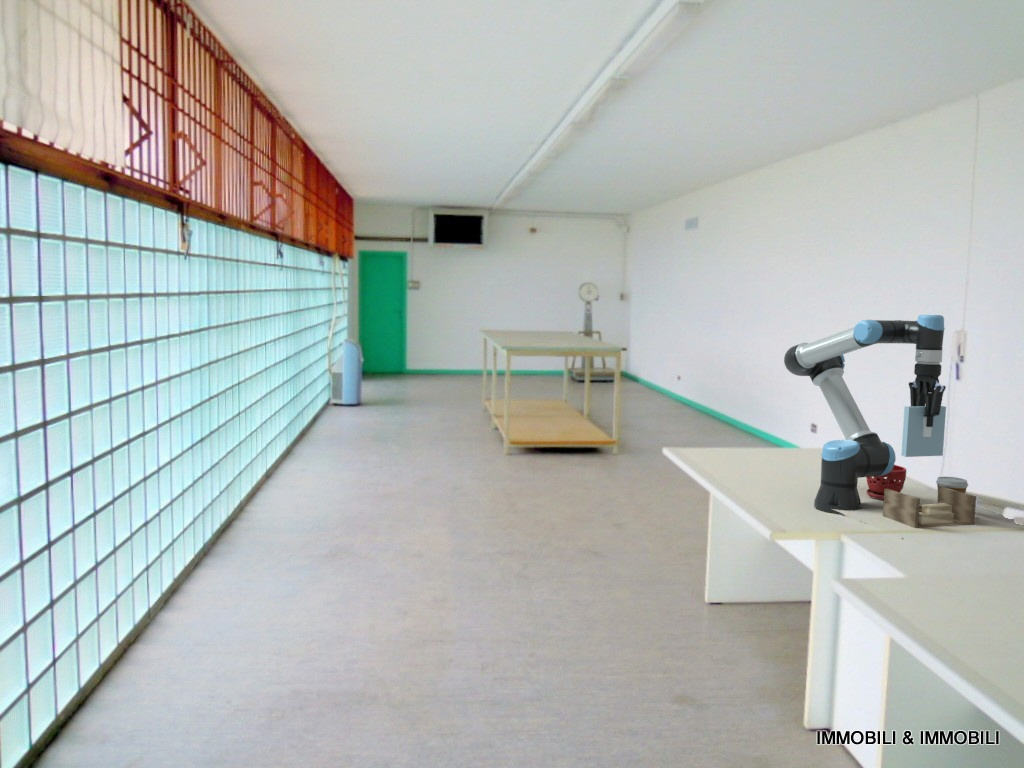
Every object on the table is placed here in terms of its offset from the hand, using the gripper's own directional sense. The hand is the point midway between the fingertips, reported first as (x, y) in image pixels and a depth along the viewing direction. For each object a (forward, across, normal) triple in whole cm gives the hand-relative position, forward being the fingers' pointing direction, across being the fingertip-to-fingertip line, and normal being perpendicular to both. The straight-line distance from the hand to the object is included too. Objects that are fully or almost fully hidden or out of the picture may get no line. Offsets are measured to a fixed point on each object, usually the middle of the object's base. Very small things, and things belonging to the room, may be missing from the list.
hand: (923, 435), depth 244 cm
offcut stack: (+27, +7, 0) cm, 27 cm away
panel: (+6, 0, 0) cm, 6 cm away
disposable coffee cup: (+28, -6, +18) cm, 34 cm away
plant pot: (+28, -30, +12) cm, 43 cm away
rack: (+28, +4, 0) cm, 28 cm away
